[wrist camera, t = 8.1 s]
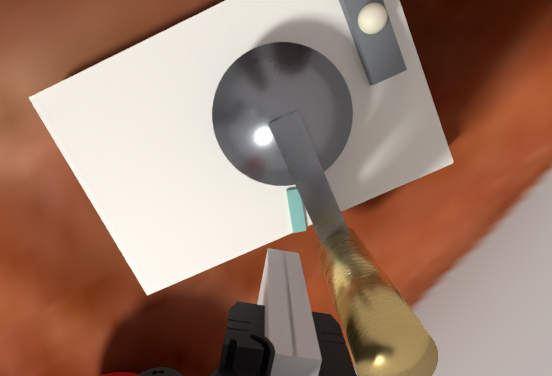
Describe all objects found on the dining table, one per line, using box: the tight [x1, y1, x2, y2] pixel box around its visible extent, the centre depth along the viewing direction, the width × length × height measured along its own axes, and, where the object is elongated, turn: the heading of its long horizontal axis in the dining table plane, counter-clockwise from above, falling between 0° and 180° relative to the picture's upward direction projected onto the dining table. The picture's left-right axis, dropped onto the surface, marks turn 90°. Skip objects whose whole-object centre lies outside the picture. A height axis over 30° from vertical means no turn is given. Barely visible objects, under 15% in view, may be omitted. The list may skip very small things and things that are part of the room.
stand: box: [29, 0, 454, 295], centre depth 19 cm, size 13×20×4 cm, turn 114°
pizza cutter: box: [212, 42, 438, 376], centre depth 14 cm, size 13×7×10 cm, turn 24°
